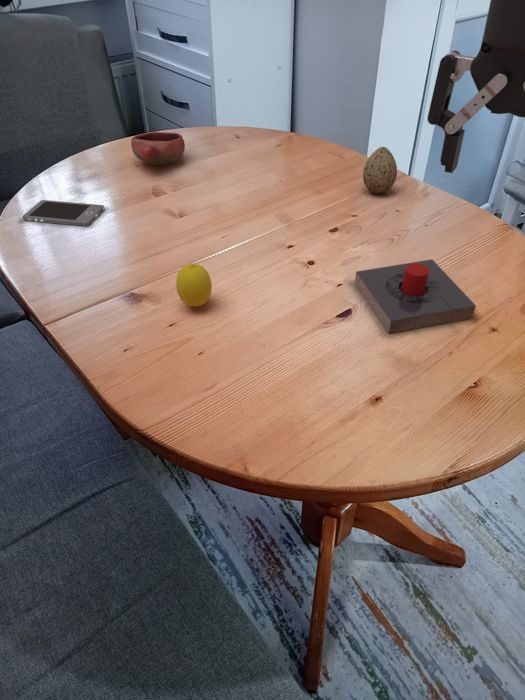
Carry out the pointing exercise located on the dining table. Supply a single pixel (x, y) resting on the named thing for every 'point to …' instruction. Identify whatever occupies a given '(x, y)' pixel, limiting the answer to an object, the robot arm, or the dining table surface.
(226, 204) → the dining table surface
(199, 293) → the lemon
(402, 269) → the grey square base
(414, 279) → the stopper
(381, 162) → the decorative egg
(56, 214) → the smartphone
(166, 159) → the bowl
